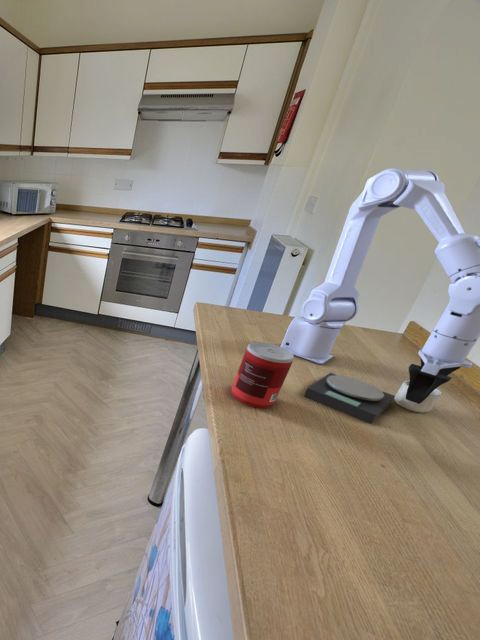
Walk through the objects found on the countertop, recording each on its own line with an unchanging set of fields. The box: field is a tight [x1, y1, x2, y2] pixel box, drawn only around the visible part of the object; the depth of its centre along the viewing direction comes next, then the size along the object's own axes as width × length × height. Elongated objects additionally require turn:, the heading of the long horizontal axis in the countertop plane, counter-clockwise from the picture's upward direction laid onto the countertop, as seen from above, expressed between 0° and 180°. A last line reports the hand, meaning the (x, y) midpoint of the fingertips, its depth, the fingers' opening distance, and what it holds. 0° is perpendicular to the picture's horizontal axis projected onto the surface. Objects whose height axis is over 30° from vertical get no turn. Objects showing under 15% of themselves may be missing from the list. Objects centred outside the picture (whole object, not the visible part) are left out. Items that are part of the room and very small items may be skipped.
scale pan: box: [326, 374, 384, 401], centre depth 84 cm, size 9×9×1 cm
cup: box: [393, 379, 443, 413], centre depth 83 cm, size 5×5×4 cm
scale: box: [303, 372, 396, 424], centre depth 84 cm, size 11×13×2 cm
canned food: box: [231, 341, 295, 409], centre depth 82 cm, size 8×8×11 cm
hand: (417, 395), depth 83 cm, fingers open, 7 cm apart
